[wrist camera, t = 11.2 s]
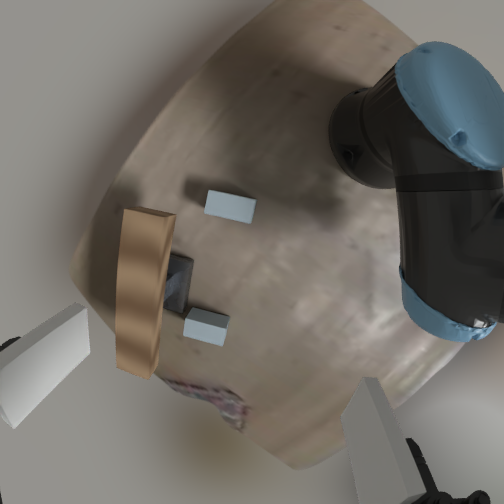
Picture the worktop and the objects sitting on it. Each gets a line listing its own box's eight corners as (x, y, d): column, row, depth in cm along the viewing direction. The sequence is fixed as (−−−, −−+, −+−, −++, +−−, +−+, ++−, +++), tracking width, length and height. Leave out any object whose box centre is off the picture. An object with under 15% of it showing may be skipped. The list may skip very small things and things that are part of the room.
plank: (139, 206, 31) (124, 208, 27) (176, 214, 31) (164, 217, 27) (128, 353, 36) (116, 367, 32) (158, 364, 36) (148, 379, 32)
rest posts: (214, 190, 37) (208, 190, 33) (257, 199, 37) (255, 200, 33) (190, 323, 41) (183, 335, 38) (226, 333, 41) (222, 346, 38)
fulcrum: (145, 247, 39) (123, 258, 32) (194, 260, 39) (179, 273, 32) (140, 294, 41) (120, 311, 34) (186, 308, 41) (171, 328, 34)
